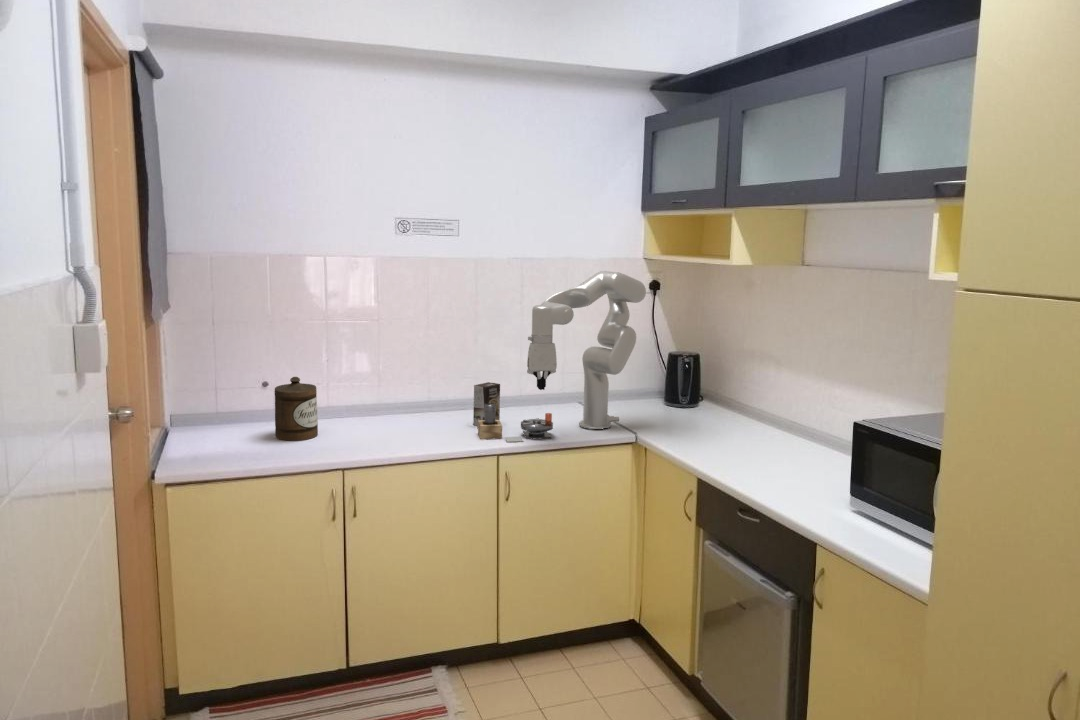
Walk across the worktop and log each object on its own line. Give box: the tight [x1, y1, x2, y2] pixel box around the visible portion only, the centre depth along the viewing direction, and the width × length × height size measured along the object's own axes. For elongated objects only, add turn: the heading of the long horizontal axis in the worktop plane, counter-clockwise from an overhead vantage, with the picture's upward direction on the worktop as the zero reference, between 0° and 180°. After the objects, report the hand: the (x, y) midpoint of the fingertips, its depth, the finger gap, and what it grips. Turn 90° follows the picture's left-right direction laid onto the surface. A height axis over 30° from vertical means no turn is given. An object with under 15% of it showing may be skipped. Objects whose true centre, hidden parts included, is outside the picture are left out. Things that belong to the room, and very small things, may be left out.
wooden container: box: [274, 376, 319, 442], centre depth 286 cm, size 15×15×22 cm
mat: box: [504, 436, 524, 443], centre depth 288 cm, size 6×6×1 cm
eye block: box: [477, 420, 503, 440], centre depth 292 cm, size 8×8×5 cm
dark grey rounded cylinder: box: [485, 403, 496, 425], centre depth 292 cm, size 4×4×12 cm
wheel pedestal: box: [522, 430, 552, 440], centre depth 295 cm, size 9×9×3 cm
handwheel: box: [520, 412, 554, 432], centre depth 294 cm, size 12×12×6 cm
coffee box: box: [472, 381, 501, 427], centre depth 308 cm, size 9×6×16 cm
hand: (541, 389), depth 287 cm, fingers closed
